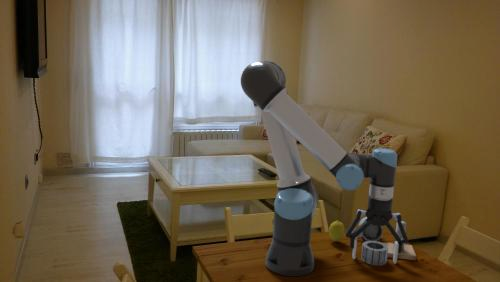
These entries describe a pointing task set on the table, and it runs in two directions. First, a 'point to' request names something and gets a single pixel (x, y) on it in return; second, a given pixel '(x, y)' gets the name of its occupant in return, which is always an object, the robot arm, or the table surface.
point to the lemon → (336, 231)
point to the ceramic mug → (370, 232)
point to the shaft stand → (406, 250)
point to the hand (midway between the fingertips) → (374, 259)
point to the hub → (374, 253)
